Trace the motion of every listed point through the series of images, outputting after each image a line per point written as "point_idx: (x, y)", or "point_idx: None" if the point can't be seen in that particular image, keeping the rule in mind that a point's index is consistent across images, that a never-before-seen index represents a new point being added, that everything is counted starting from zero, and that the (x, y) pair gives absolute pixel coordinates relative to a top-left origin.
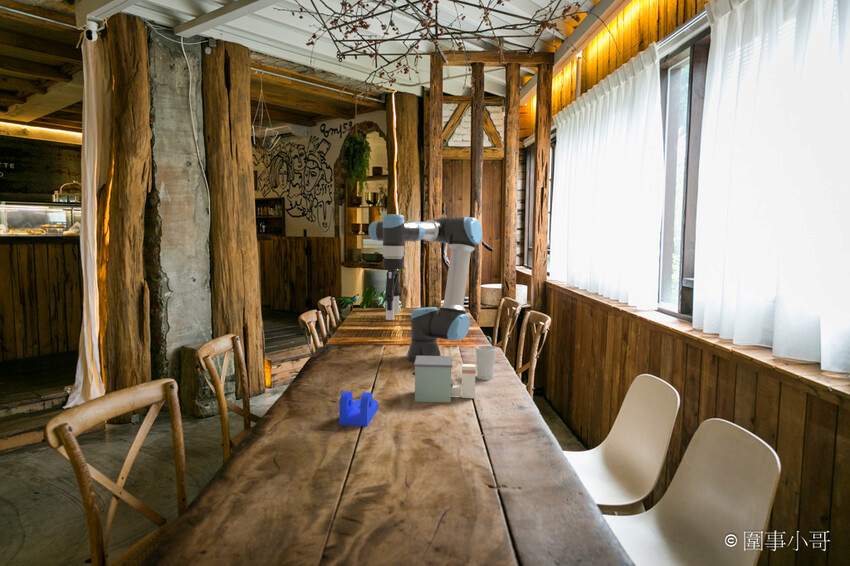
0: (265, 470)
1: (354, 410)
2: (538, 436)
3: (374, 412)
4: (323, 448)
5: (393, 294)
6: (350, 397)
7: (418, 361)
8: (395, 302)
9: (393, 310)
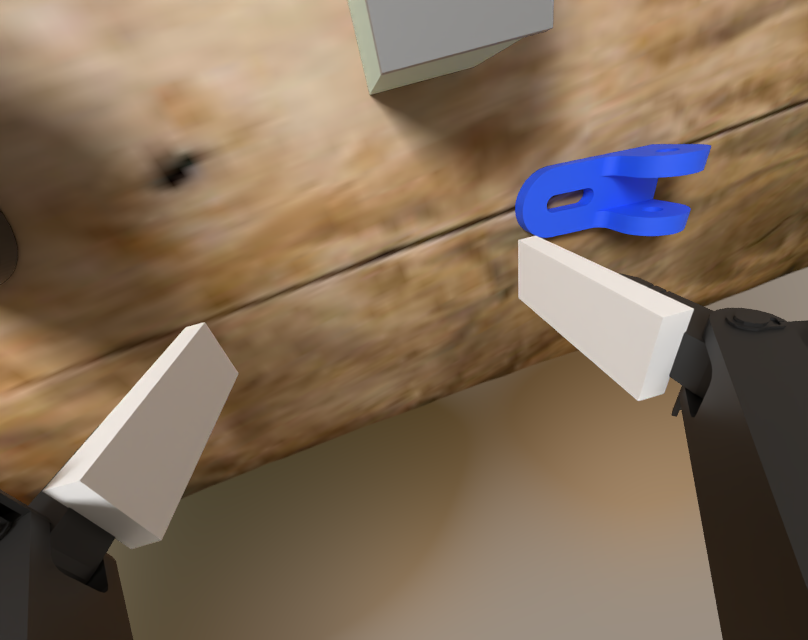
0: (787, 233)
1: (603, 205)
2: None
3: (587, 158)
4: (739, 186)
5: (796, 391)
6: (653, 213)
7: (499, 16)
8: (172, 429)
9: (591, 261)
